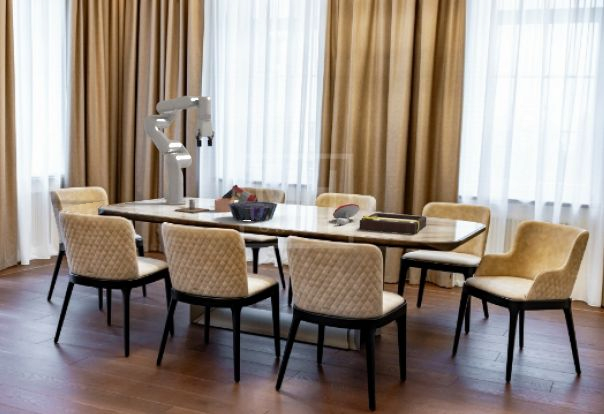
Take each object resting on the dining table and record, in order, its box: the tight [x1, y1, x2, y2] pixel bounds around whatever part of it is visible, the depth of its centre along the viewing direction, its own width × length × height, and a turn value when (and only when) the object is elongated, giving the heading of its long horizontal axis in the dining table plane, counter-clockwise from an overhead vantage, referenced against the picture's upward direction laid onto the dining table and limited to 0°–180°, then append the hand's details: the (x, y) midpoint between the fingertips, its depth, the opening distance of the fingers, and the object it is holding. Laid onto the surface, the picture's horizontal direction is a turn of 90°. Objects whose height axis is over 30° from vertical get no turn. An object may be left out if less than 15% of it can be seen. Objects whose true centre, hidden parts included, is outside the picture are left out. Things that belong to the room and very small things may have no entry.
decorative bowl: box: [228, 200, 278, 222], centre depth 358 cm, size 26×28×10 cm
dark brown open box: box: [359, 212, 427, 235], centre depth 338 cm, size 28×7×30 cm
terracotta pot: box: [214, 198, 235, 213], centre depth 381 cm, size 11×11×7 cm
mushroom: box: [332, 203, 361, 226], centre depth 353 cm, size 13×26×10 cm, turn 149°
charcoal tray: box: [174, 210, 212, 215], centre depth 379 cm, size 16×16×1 cm
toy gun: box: [221, 184, 259, 202], centre depth 402 cm, size 5×22×15 cm, turn 81°
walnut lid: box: [174, 198, 211, 214], centre depth 379 cm, size 14×14×6 cm
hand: (204, 146), depth 394 cm, fingers open, 9 cm apart
